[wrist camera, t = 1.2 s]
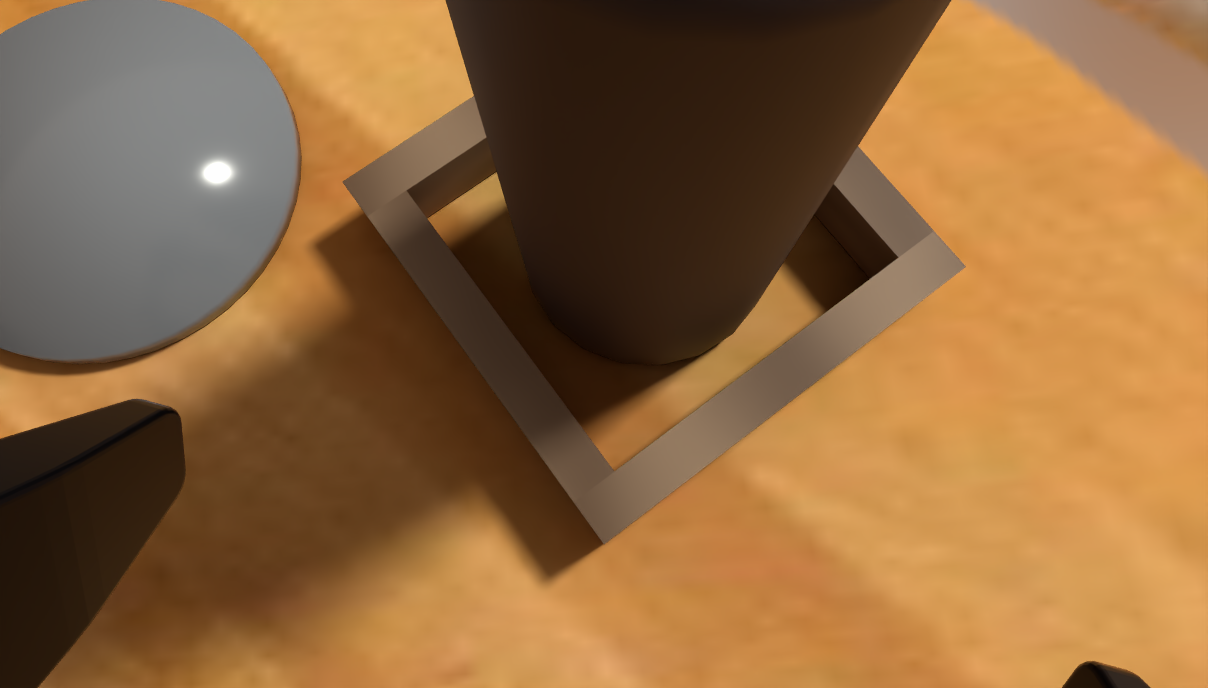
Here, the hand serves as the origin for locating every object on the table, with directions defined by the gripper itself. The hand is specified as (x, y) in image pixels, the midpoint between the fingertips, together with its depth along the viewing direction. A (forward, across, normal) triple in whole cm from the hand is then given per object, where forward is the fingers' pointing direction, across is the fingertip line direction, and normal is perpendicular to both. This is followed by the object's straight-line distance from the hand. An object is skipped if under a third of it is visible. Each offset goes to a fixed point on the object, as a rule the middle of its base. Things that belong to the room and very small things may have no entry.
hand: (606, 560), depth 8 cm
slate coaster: (+14, +16, +4) cm, 22 cm away
